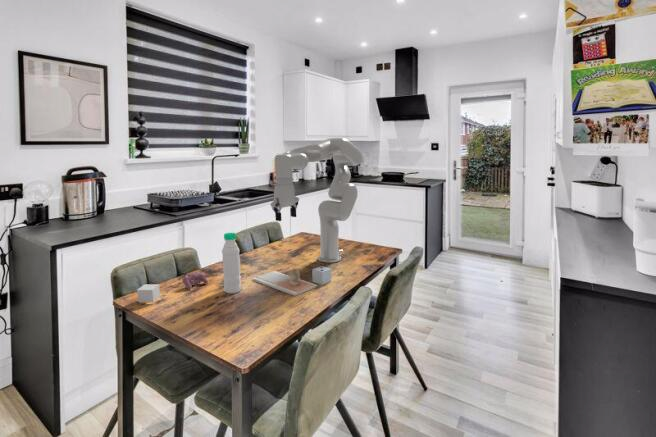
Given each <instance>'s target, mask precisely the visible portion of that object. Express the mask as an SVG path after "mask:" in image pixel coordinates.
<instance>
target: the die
mask: <svg viewBox="0 0 656 437" xmlns="http://www.w3.org/2000/svg"><path fill="white" fill-rule="evenodd" d="M311 272H312V276H311V277H312V282H313V283H314V284H318V285H321V286H324V285H326V284H328V283H331V282H332V268H330V267H325V266H323V265H320V266H318V267H315V268H313V269H312V271H311Z"/></svg>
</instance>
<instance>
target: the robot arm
mask: <svg viewBox="0 0 656 437" xmlns="http://www.w3.org/2000/svg"><path fill="white" fill-rule="evenodd" d="M330 157H332V160H333V165H334V167H335V173H334V176H333V180H332V181H331V183H330V186H329V189H328V192H327V193H328V197H329V198H330V199H331V200H329V199H328V200H323V201H321V202H320V204H319V205H318V211H317V212H318V216H319V224H320V230H319V231H320V233H319V234H320V255H318V256H317V261H319V262H322V263H328V264H329V263H331V264H332V263H337V262H340V261H341V260H342V256H341V254H342V253H344V249H342V248H341V249H339V230H340V228H339V223H338V221H339V222H346V221H347V220H348V219H349V218H350V216H351V214H352V211H353V209H354V206H355V203H356V201H357V198H358V192H359V191H358V188H357V186H356V185H355V184H353V183H350V180H351V179H352V176H351V175H352V174H351V171H350V168H349V166H350V167H351V166H352V167H355V166H359V165H360V164H361V163H362V161H363V153H362V151H361V150H360V149H359V148H358V147H357V146H356V145H355V144H354V143H352V142H351V141H349V140H348V139H347V138H345V137H333V138H332V137H331V138H326V139H325V140H324V139H323V140H322V141H318V142H316V143H313V144H309V145H306V146H302V147H301V146H300V147H298V148H293V149H291V150H287V151H285V152H283V153H280V154H276V155H275V156H274V169H275V170H274V172H275V185H274V189H273V201H272V202H271V203H270V204H269V205H270V207H271V209H272V211H273V212H274V214H275V216H274V217H275V221H276V222H281V221H282V212H281V211H282V209H285V208H288V207H290V217H292V218H296V217H297V209H298V205H299V201H300V197H298V196H297V195H296V190H295V185H294V183H293V181H294V177H293V170H304V169H305V168H306V167H307V166H308V164H309V163H316V162H320V161H323V160H325V159H327V158H330Z"/></svg>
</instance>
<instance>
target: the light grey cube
mask: <svg viewBox="0 0 656 437" xmlns="http://www.w3.org/2000/svg"><path fill="white" fill-rule="evenodd" d="M136 290H137V291H136V294H137V302H154V301H155V300H156V299H157V298H158V297H160V298H161V292H160V291H161V289H160V284H157V283H156V284H153V283H152V284H150V283H149V284H145V283H144V284H142V285H141V286H140V287H139V288H138V289H136Z"/></svg>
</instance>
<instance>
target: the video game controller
mask: <svg viewBox="0 0 656 437" xmlns="http://www.w3.org/2000/svg"><path fill="white" fill-rule="evenodd" d="M193 280H194V281H193ZM201 282H202V283H203V282H204V283H203V284H205V283H208V284H209V282H208V279H207V278H206V277H205V275H204V274H203V273H202V272H200V271H197V272H196V271H194V272H191V273H188V274H187V275H185V276H184V277H183V278H182V283H183V284H184V286H185V287H186V289H187V288H188V289H191V290H192V287H191V286H192V285H194V286H195V285H196V284H198V283H200V284H201ZM188 289H187V290H188Z"/></svg>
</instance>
